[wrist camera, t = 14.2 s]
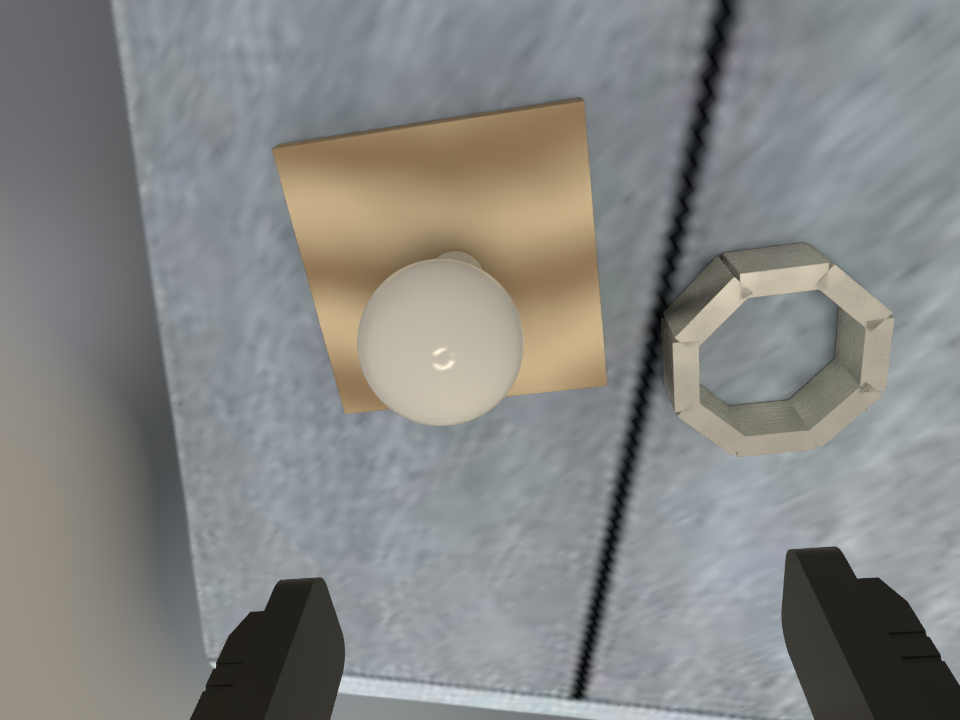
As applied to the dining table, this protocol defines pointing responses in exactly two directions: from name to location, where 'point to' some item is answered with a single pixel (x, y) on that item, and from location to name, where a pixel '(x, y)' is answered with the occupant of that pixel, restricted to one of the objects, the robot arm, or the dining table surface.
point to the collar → (823, 398)
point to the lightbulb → (441, 341)
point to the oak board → (456, 229)
